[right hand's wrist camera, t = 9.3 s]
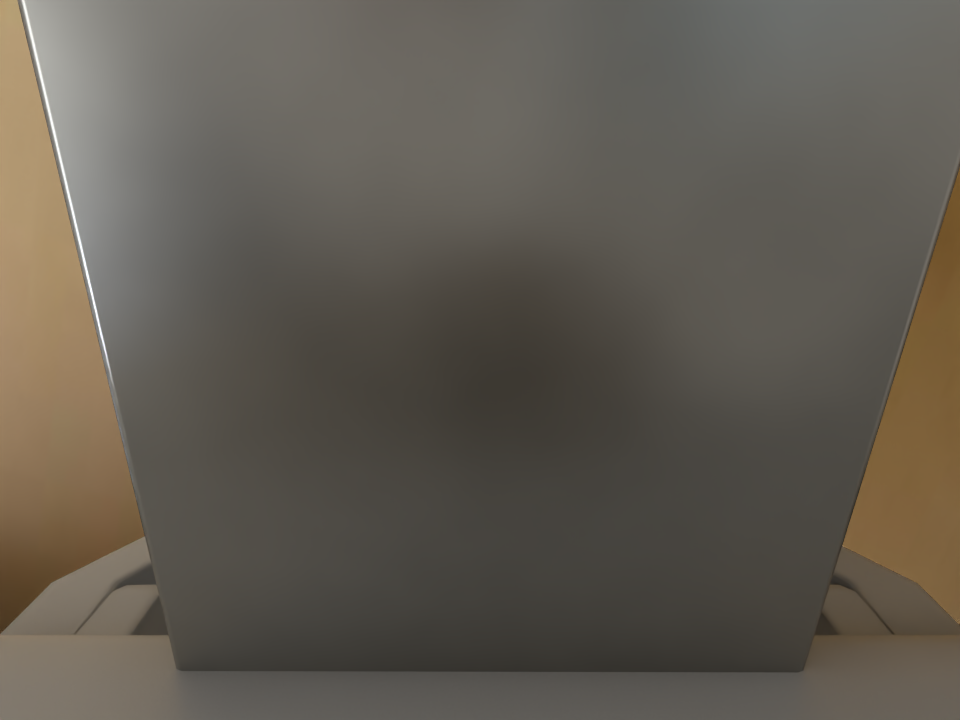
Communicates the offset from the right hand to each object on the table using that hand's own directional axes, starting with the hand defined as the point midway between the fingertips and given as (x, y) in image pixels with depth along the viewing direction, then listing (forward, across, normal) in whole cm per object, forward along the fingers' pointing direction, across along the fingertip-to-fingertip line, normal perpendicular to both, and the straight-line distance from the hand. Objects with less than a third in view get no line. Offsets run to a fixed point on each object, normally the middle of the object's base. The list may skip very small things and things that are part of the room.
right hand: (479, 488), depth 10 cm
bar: (+3, 0, -8) cm, 9 cm away
